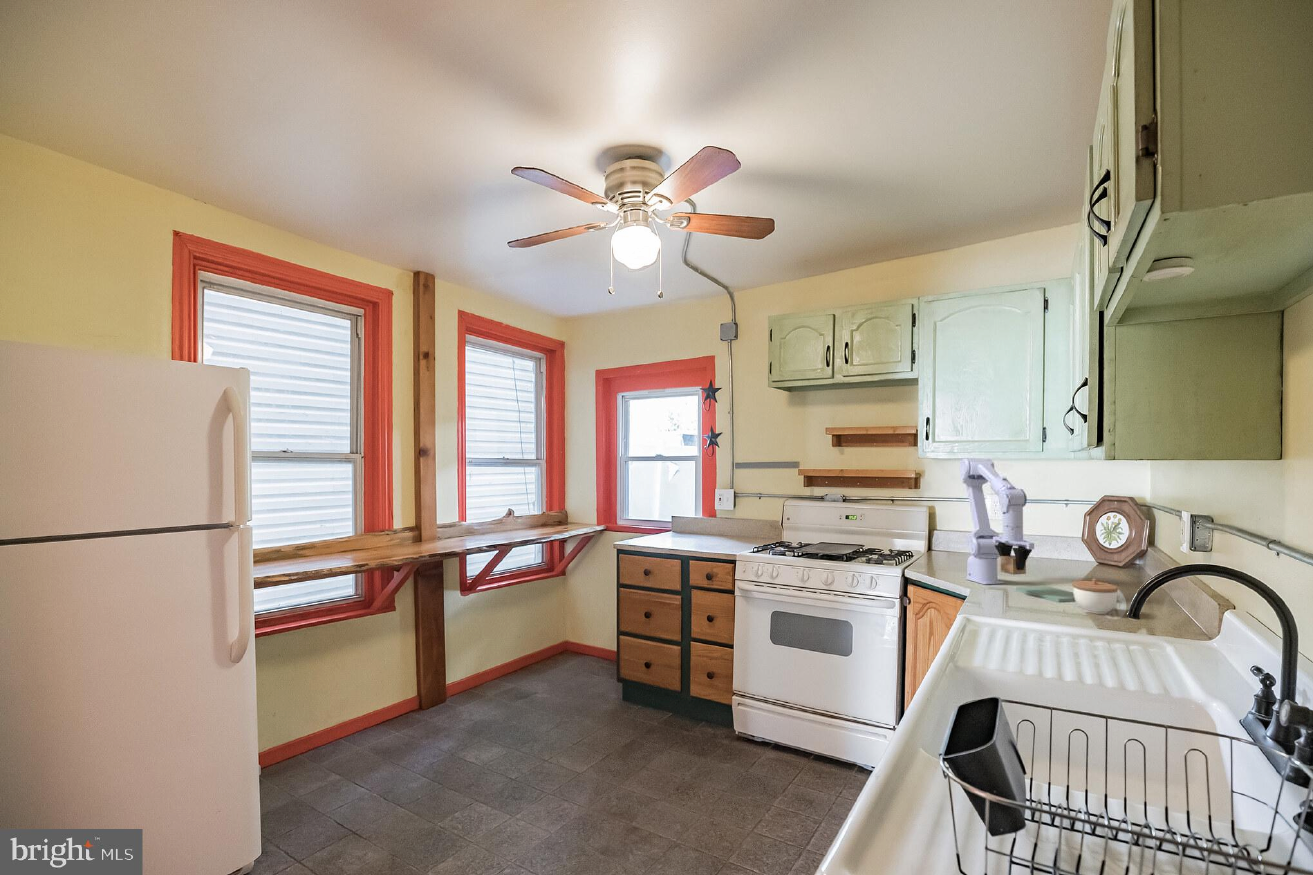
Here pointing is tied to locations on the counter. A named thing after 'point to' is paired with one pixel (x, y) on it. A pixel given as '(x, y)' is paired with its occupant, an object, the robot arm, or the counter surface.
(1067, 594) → the sage board
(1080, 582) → the lidded jar
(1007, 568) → the walnut block
